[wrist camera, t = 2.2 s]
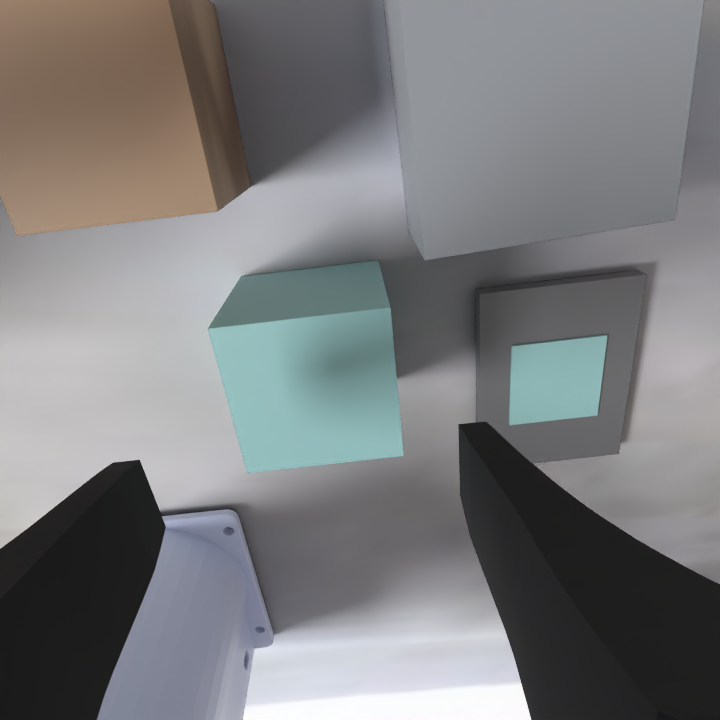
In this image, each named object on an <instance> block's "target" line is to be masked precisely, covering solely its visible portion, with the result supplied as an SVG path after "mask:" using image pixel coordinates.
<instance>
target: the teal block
mask: <svg viewBox="0 0 720 720" xmlns="http://www.w3.org/2000/svg"><path fill="white" fill-rule="evenodd" d="M208 332H209V335H210V339H211V343H212V346H213V350H214V354H215V357H216V361H217V365H218V368H219V372H220V376H221V379H222V383H223V387H224V390H225V394H226V398H227V401H228V405H229V409H230V412H231V416H232V420H233V423H234V427H235V431H236V434H237V438H238V442H239V445H240V449H241V453H242V456H243V460H244V464H245V467H246V471H247V473H254V472H263V471H272V470H281V469H290V468H299V467H308V466H317V465H326V464H335V463H344V462H353V461H362V460H371V459H380V458H389V457H398V456H404V453H403V442H402V431H401V419H400V408H399V397H398V386H397V374H396V363H395V352H394V341H393V329H392V318H391V307H390V303H389V300H388V296H387V292H386V288H385V284H384V280H383V277H382V273H381V269H380V265H379V261H378V260H375V261H367V262H359V263H350V264H342V265H333V266H325V267H317V268H308V269H300V270H291V271H283V272H275V273H266V274H258V275H249V276H241V277H240V279H239V281H238V282H237V284H236V285H235V287H234V288H233V290H232V292H231V293H230V295H229V296H228V298H227V299H226V301H225V303H224V304H223V306H222V307H221V309H220V310H219V312H218V314H217V315H216V317H215V318H214V320H213V321H212V323H211V325H210V326H209V328H208Z"/></svg>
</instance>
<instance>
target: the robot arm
mask: <svg viewBox="0 0 720 720" xmlns="http://www.w3.org/2000/svg"><path fill="white" fill-rule="evenodd" d="M459 463H460V496H461V500H462V504H463V509H464V513H465V517H466V521H467V525H468V529H469V533H470V537H471V539H472V542H473V545H474V548H475V550H476V553H477V556H478V559H479V561H480V564H481V567H482V569H483V572H484V575H485V577H486V580H487V583H488V585H489V588H490V591H491V593H492V596H493V599H494V601H495V604H496V607H497V609H498V612H499V615H500V617H501V620H502V623H503V625H504V628H505V631H506V633H507V636H508V639H509V642H510V645H511V648H512V651H513V654H514V658H515V661H516V665H517V668H518V672H519V676H520V679H521V683H522V687H523V690H524V694H525V697H526V701H527V705H528V708H529V712H530V716H531V720H720V584H718V583H716V582H714V581H712V580H710V579H708V578H706V577H704V576H702V575H700V574H698V573H696V572H694V571H692V570H690V569H688V568H686V567H685V566H683V565H681V564H679V563H677V562H676V561H674V560H672V559H670V558H668V557H666V556H665V555H663V554H661V553H659V552H657V551H655V550H654V549H652V548H650V547H649V546H647V545H645V544H644V543H642V542H640V541H638V540H637V539H635V538H634V537H632V536H630V535H629V534H627V533H626V532H624V531H623V530H621V529H619V528H618V527H616V526H615V525H613V524H612V523H610V522H608V521H607V520H605V519H604V518H602V517H601V516H599V515H598V514H596V513H595V512H594V511H592V510H591V509H589V508H588V507H586V506H585V505H584V504H582V503H581V502H580V501H578V500H577V499H576V498H574V497H573V496H572V495H570V494H569V493H568V492H566V491H565V490H564V489H563V488H561V487H560V486H559V485H558V484H556V483H555V482H554V481H553V480H551V479H550V478H549V477H548V476H547V475H545V474H544V473H543V472H542V471H541V470H539V469H538V468H537V467H536V466H535V465H534V464H532V463H531V462H530V461H529V460H528V459H527V458H526V457H524V456H523V455H522V454H521V453H520V452H519V451H518V450H517V449H516V448H514V447H513V446H512V445H511V444H510V443H509V442H508V441H507V440H506V439H505V438H504V437H503V436H502V435H501V434H499V433H498V432H497V431H496V430H495V429H494V428H493V427H492V426H491V425H490V424H489V423H487V422H477V423H467V424H459ZM226 527H231V528H233V529H228V528H226ZM273 639H274V634H273V631H272V627H271V624H270V621H269V617H268V614H267V610H266V607H265V604H264V600H263V597H262V594H261V590H260V587H259V583H258V580H257V577H256V573H255V570H254V567H253V563H252V560H251V556H250V553H249V550H248V546H247V543H246V540H245V536H244V533H243V530H242V526H241V523H240V519H239V516H238V514H237V513H236V512H234V511H232V510H229V509H224V510H215V511H206V512H197V513H188V514H178V515H169V516H161V513H160V511H159V508H158V506H157V503H156V501H155V498H154V495H153V493H152V490H151V488H150V485H149V483H148V480H147V478H146V475H145V472H144V470H143V467H142V465H141V462H140V460H134V461H125V462H116V463H112V464H111V465H109V466H108V467H106V468H105V469H103V470H102V471H100V472H99V473H98V474H96V475H95V476H94V477H92V478H91V479H90V480H89V481H87V482H86V483H85V484H83V485H82V486H81V487H80V488H78V489H77V490H76V491H75V492H73V493H72V494H71V495H70V496H68V497H67V498H66V499H65V500H63V501H62V502H61V503H59V504H58V505H57V506H56V507H54V508H53V509H52V510H51V511H49V512H48V513H47V514H46V515H44V516H43V517H42V518H40V519H39V520H38V521H37V522H35V523H34V524H33V525H32V526H30V527H29V528H28V529H26V530H25V531H24V532H23V533H21V534H20V535H18V536H17V537H16V538H14V539H13V540H12V541H10V542H9V543H8V544H6V545H5V546H4V547H2V548H1V549H0V720H243V715H244V709H245V703H246V697H247V690H248V684H249V678H250V672H251V666H252V660H253V654H254V648H263V647H268V646H270V645H272V643H273Z"/></svg>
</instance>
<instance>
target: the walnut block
mask: <svg viewBox="0 0 720 720" xmlns="http://www.w3.org/2000/svg"><path fill="white" fill-rule="evenodd" d="M250 187H251V184H250V179H249V174H248V169H247V164H246V159H245V154H244V149H243V144H242V139H241V134H240V129H239V124H238V119H237V114H236V109H235V104H234V99H233V94H232V89H231V84H230V79H229V74H228V69H227V64H226V59H225V54H224V49H223V44H222V39H221V34H220V29H219V24H218V19H217V14H216V9H215V5H214V4H213V3H212V2H210V1H209V0H0V197H1V199H2V201H3V204H4V206H5V209H6V211H7V213H8V216H9V218H10V220H11V223H12V225H13V228H14V230H15V232H16V235H17V236H19V235H27V234H35V233H43V232H52V231H60V230H68V229H76V228H85V227H93V226H101V225H109V224H118V223H126V222H134V221H142V220H151V219H159V218H167V217H175V216H184V215H192V214H200V213H208V212H217V211H219V210H220V209H222V208H223V207H224V206H226V205H227V204H228V203H230V202H231V201H232V200H234V199H235V198H236V197H238V196H239V195H240V194H242V193H243V192H244V191H246V190H247V189H248V188H250Z"/></svg>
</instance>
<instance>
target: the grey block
mask: <svg viewBox="0 0 720 720" xmlns="http://www.w3.org/2000/svg"><path fill="white" fill-rule="evenodd" d="M383 4H384V13H385V22H386V31H387V41H388V50H389V59H390V68H391V77H392V86H393V95H394V104H395V113H396V122H397V131H398V141H399V150H400V159H401V168H402V177H403V186H404V195H405V204H406V213H407V222H408V231H409V234H410V236H411V238H412V239H413V241H414V243H415V244H416V246H417V248H418V250H419V251H420V253H421V255H422V256H423V258H424V260H431V259H438V258H444V257H450V256H456V255H462V254H468V253H475V252H481V251H487V250H493V249H499V248H505V247H512V246H518V245H524V244H530V243H536V242H543V241H549V240H555V239H561V238H567V237H573V236H580V235H586V234H592V233H598V232H604V231H611V230H617V229H623V228H629V227H635V226H641V225H648V224H654V223H660V222H666V221H672V220H675V219H676V211H677V203H678V196H679V188H680V180H681V173H682V165H683V158H684V150H685V142H686V135H687V127H688V119H689V112H690V104H691V96H692V89H693V81H694V73H695V66H696V58H697V51H698V43H699V35H700V28H701V20H702V12H703V5H704V0H383Z"/></svg>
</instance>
